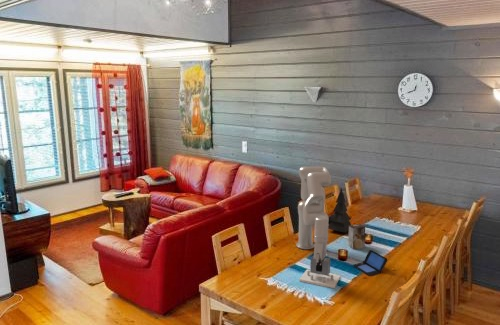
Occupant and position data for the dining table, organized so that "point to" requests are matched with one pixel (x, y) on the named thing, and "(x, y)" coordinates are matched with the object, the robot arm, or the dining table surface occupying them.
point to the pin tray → (320, 279)
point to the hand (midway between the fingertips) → (320, 268)
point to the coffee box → (356, 236)
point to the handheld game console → (372, 264)
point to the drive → (324, 264)
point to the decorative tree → (340, 215)
